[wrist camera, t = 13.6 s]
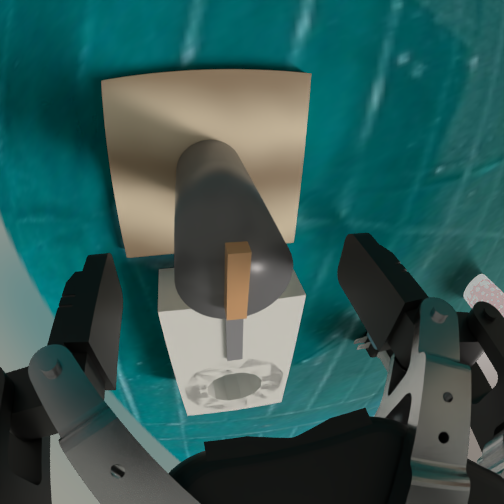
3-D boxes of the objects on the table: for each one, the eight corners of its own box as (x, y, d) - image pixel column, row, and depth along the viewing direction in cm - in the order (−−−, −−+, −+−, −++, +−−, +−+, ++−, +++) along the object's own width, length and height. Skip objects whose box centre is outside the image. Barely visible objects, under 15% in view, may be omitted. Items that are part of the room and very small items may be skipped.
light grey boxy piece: (159, 269, 23) (157, 315, 19) (286, 256, 25) (307, 297, 21) (183, 380, 32) (187, 418, 28) (271, 369, 34) (282, 404, 30)
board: (105, 79, 14) (101, 80, 14) (305, 72, 17) (311, 73, 16) (128, 249, 21) (127, 258, 21) (289, 235, 24) (293, 242, 23)
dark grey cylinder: (174, 141, 17) (168, 240, 8) (243, 139, 18) (307, 231, 9) (177, 202, 19) (180, 335, 11) (240, 199, 20) (289, 324, 11)
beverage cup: (474, 269, 33) (537, 342, 22) (493, 269, 35) (550, 334, 24) (453, 304, 36) (507, 377, 25) (473, 301, 38) (523, 366, 27)
